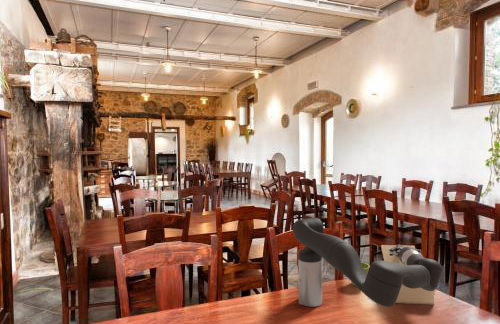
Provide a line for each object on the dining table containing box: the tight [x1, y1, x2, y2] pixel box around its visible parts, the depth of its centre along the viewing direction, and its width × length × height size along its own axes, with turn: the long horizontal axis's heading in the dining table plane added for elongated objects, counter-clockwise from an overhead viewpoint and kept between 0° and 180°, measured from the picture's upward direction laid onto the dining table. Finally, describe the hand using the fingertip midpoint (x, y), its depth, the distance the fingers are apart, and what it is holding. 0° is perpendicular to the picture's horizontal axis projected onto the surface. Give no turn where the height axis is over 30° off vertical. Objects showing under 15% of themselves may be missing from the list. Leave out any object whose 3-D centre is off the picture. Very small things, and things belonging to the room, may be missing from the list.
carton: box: [395, 284, 436, 306], centre depth 140 cm, size 17×12×10 cm
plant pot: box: [350, 261, 370, 287], centre depth 154 cm, size 9×9×9 cm
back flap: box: [380, 244, 416, 265], centre depth 149 cm, size 14×1×10 cm
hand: (398, 246), depth 151 cm, fingers closed
